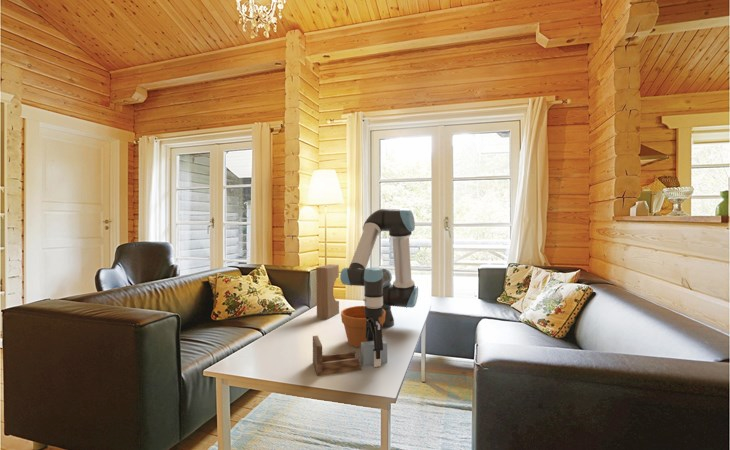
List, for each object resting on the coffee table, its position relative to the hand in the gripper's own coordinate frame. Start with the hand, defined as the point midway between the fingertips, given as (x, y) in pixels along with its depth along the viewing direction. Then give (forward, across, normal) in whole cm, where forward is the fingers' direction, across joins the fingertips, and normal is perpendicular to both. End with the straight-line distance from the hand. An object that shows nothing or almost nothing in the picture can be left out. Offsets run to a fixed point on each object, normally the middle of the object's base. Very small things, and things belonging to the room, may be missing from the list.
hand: (373, 361), depth 138 cm
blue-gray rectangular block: (0, 0, 0) cm, 0 cm away
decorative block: (0, -73, -6) cm, 73 cm away
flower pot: (0, -23, +2) cm, 23 cm away
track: (0, -1, -15) cm, 15 cm away
